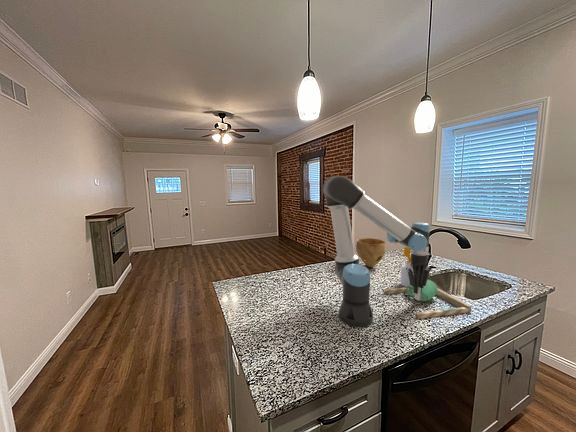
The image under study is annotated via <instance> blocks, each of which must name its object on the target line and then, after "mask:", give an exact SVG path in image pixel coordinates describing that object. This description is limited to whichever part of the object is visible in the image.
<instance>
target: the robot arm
mask: <svg viewBox="0 0 576 432" xmlns="http://www.w3.org/2000/svg"><path fill="white" fill-rule="evenodd" d="M365 192H366V191H365V190H364V189H362V188H361V187H360V186H358V185H357V184H356V183H355V182H354V181H352V180H351V179H349V177H346V176H344V175H335V176H330V177H329V178H327V180H325V182H324V183H323V186H322V194H323V196H324V198H325V203H326V208H328V209H329V210H330V214H331V215H330V216H331V224H332V229H333V235H334V243H335V249H336V257H334V262H335V267H334V271H335V275H336V277H337V278H338V279H339V281H340V283H341V285H342V300H341V304H340V306H339V309H338V318H339V320H340V321H341V322H342V323H344V324H346V325H348V326H352V327H353V326H354V327H368V326H369V325H371V324H372V323H373V321H374V314H373V310H372V307H371V303H370V293H371V292H370V290H371V272H370V270H369V268H367V267H366V265H365V266H364V265H362V264H360V260H359V258H360V257H359V255H357V254H356V253H355V246H354V240H353V233H352V226H351V219H350V212H349V209H350V210H351V209H353V210H356V212H358V213H359V214H361V215H362V216H364V217H365V218H366V219H368V220H369V221H371V222H372V223H373V224H375V225H376V226H378V227H379V228H380V229H381V230H383V231H385V232H386V238H387V242H389V243H394V244H397V243H398V244H401V245H403V246H404V247H408V248H410V249H411V250H410V255H411V265H410V267H409V268H406V270H407V272H408V276H409V281H410V285H411V286H413V287H414V291H413V293H415V297H413V298H414V299H415V300H416V301H420V293H422V288H424V287H423V286H426V283H427V280H429V279H428V278H429V275H430V272H431V271H432V267H430V266H429V265H428V262H429V255H428V254H429V249H430V246H429V245H430V234H431V232H430V230H431V229H430V225H429V223H426V222H412V225H411V226H409V225H407V224H406V223H405V222H403V221H402V220H401V219H399V218H398V217H397V216H395V215H394V214H393V213H391V212H389V211H388V210H387V209H385V208H384V207H382V206H381V205H380V204H378V203H377V202H376V201H374V200H373V199H372V198H370V197H369V196H367V195H366V194H365ZM412 269H413V270H412ZM412 271H413V272H412ZM413 273H414V275H413Z"/></svg>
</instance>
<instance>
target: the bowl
mask: <svg viewBox="0 0 576 432" xmlns="http://www.w3.org/2000/svg"><path fill="white" fill-rule="evenodd" d="M355 244H356V245H355V250H356V253H357V254H358V255H357V256H358V258H360V260H361V261H362V262H363V264H364V265H365V266H367V267H368V268H373V267H376V265H378V264H379V263H380V261H382V259H383V258H384V256H385V255H386V252H387V249H386V247H387V243H386V241H385V240H383V239H380V238H373V237H372V238H371V237H365V238H363V237H362V238H361V237H360V238H357V239H356V243H355Z"/></svg>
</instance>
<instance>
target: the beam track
mask: <svg viewBox="0 0 576 432" xmlns="http://www.w3.org/2000/svg"><path fill="white" fill-rule="evenodd" d="M406 289H407V287H398V288H388V289H387V288H385V289H384V290H383V292H384V294H385V295H390V294H401V293H407V292H406ZM410 292H412V293H413V292H414V290H410ZM435 296H438V297H439V298H441V299H443V301H444V300H445V301H447V302H448V303H449V304H452V305H454V307H447V308H441V309H438V310H436V309H435V310H430V311H429V310H427V311H421V312H420V311H419V312H415V317H416V318H417V319H426V318H427V319H428V318H433V317H434V318H435V317H442V316H448V315H449V316H450V315H458V314H465V313H466V314H467V313H472V305H470V304H468V303H467V302H465V301H463V300H461V299H459V298H457V297H455V296H454V295H452V294H449V293H448V292H446V291H444V290H442V289H440V288H438V291H437V294H436V295H435ZM455 306H456V307H455Z"/></svg>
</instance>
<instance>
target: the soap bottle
mask: <svg viewBox="0 0 576 432" xmlns="http://www.w3.org/2000/svg"><path fill="white" fill-rule="evenodd" d="M403 257H405V258H407V259H408V260H406V264H404V265H402V266H401V269H400V270H401V271H400V285H401V286H402V287H403V288H406V287H408V286H411V285H410V281H409V276H408V272H407V270H406V268H409V267H410V265H411V249H410V248H408V247H406V246H404V249H403ZM412 270H413V269H412ZM412 272H413V271H412ZM413 275H414V273H413Z"/></svg>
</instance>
